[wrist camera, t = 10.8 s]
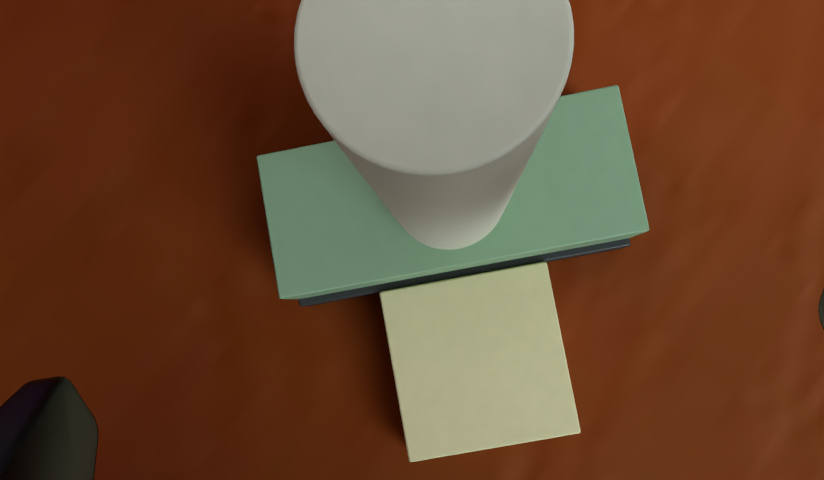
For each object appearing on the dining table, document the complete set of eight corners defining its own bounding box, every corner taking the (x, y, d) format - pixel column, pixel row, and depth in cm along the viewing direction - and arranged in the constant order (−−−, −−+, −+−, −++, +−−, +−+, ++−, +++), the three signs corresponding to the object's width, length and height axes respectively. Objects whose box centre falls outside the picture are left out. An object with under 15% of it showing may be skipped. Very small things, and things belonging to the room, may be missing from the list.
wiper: (622, 248, 19) (946, 143, 6) (307, 306, 20) (23, 316, 7) (593, 110, 20) (843, -249, 7) (284, 170, 20) (-24, -61, 7)
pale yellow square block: (573, 425, 19) (581, 433, 18) (412, 452, 19) (408, 463, 18) (541, 263, 20) (546, 260, 18) (383, 292, 20) (378, 291, 19)
